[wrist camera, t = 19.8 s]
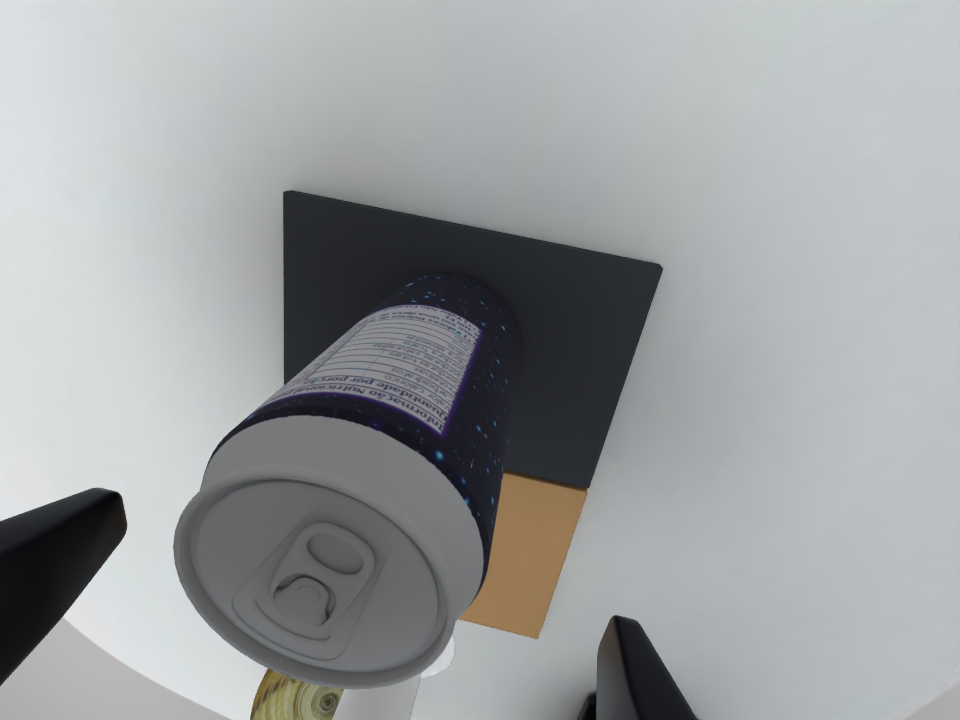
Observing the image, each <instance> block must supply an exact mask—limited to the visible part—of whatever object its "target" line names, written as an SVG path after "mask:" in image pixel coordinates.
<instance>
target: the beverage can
mask: <svg viewBox="0 0 960 720" xmlns="http://www.w3.org/2000/svg"><path fill="white" fill-rule="evenodd" d="M522 357H523V341H522V335H521V331H520V327H519V325H518V322H517V320H516V318H515V316H514V314H513V312H512V311H511V309H510V308H509V306H508V305H507V304H506V302H505V301H504V300H503V299H502V298H501V297H500V296H499V295H498V294H497V293H496V292H494V291H493V290H492V289H491V288H489V287H488V286H486V285H484V284H483V283H481V282H479V281H477V280H475V279H472V278H470V277H466V276H463V275H459V274H453V273H433V274H427V275H423V276H420V277H417V278H414V279H412V280H410V281H408V282H406V283H405V284H403V285H402V286H400V287H399V288H398V289H397V290H395V291H394V292H393V293H392V294H391V295H390V296H388V297H387V298H386V299H385V300H384V301H383V302H381V303H380V304H379V305H378V306H377V307H376V308H374V309H373V310H372V311H371V312H370V313H369V314H367V315H366V316H365V317H364V318H363V319H361V320H360V321H359V322H358V323H357V324H356V325H354V326H353V327H352V328H351V329H350V330H349V331H347V332H346V333H345V334H344V335H343V336H342V337H340V338H339V339H338V340H337V341H336V342H335V343H333V344H332V345H331V346H330V347H329V348H328V349H326V350H325V351H324V352H323V353H322V354H321V355H319V356H318V357H317V358H316V359H315V360H314V361H312V362H311V363H310V364H309V365H308V366H307V367H305V368H304V369H303V370H302V371H301V372H300V373H298V374H297V375H296V376H295V377H294V378H293V379H291V380H290V381H289V382H288V383H287V384H286V385H284V386H283V387H282V388H281V389H280V390H279V391H277V392H276V393H275V394H274V395H273V396H272V397H270V398H269V399H268V400H267V401H266V402H265V403H263V404H262V405H261V406H260V407H259V408H257V409H256V410H255V411H254V412H253V413H252V414H250V415H249V416H248V417H247V418H246V419H245V420H243V421H242V422H241V423H240V424H239V425H238V426H236V427H235V428H234V429H233V430H232V431H231V432H229V433H228V434H227V435H226V436H225V437H224V438H223V440H222V441H221V442H220V443H219V444H218V446H217V447H216V449H215V450H214V452H213V453H212V456H211V458H210V460H209V462H208V464H207V467H206V470H205V473H204V476H203V480H202V484H201V488H200V492H198V493H197V494H196V495H195V496H194V497H193V498H192V500H191V501H190V502H189V503H188V505H187V506H186V508H185V509H184V511H183V513H182V514H181V516H180V519H179V522H178V524H177V527H176V530H175V536H174V546H173V549H174V559H175V566H176V569H177V573H178V576H179V579H180V582H181V584H182V586H183V588H184V590H185V592H186V595H187V597H188V598H189V600H190V601H191V603H192V604H193V606H194V607H195V609H196V610H197V612H198V613H199V614H200V615H201V617H202V618H203V619H204V620H205V621H206V622H207V624H208V625H209V626H210V627H211V628H212V629H213V630H214V631H215V632H216V633H218V634H219V635H220V636H221V637H222V638H223V639H224V640H225V641H226V642H228V643H229V644H230V645H232V646H233V647H234V648H236V649H237V650H238V651H240V652H241V653H243V654H244V655H246V656H248V657H249V658H251V659H252V660H254V661H256V662H257V663H259V664H261V665H263V666H265V667H267V668H269V669H271V670H273V671H275V672H278V673H280V674H283V675H285V676H288V677H290V678H293V679H296V680H299V681H303V682H306V683H310V684H313V685H319V686H324V687H329V688H337V689H350V690H357V689H374V688H381V687H387V686H391V685H394V684H397V683H400V682H404V681H406V680H408V679H410V678H412V677H414V676H416V675H418V674H420V673H421V672H423V671H424V670H425V669H427V668H428V667H429V666H431V665H432V664H433V663H434V662H435V661H436V660H437V658H438V657H439V656H440V655H441V654H442V653H443V651H444V649H445V648H446V646H447V644H448V642H449V640H450V638H451V636H452V633H453V629H454V626H455V622H456V620H457V619H458V618H459V617H460V616H461V615H462V614H463V613H464V612H465V611H466V610H467V608H468V607H469V606H470V605H471V604H472V602H473V601H474V599H475V598H476V597H477V595H478V593H479V592H480V590H481V588H482V586H483V583H484V581H485V578H486V574H487V571H488V565H489V559H490V553H491V547H492V541H493V534H494V528H495V522H496V516H497V510H498V504H499V498H500V492H501V486H502V479H503V473H504V467H505V461H506V455H507V449H508V443H509V437H510V431H511V425H512V418H513V412H514V406H515V400H516V394H517V388H518V382H519V376H520V370H521V363H522Z"/></svg>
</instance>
